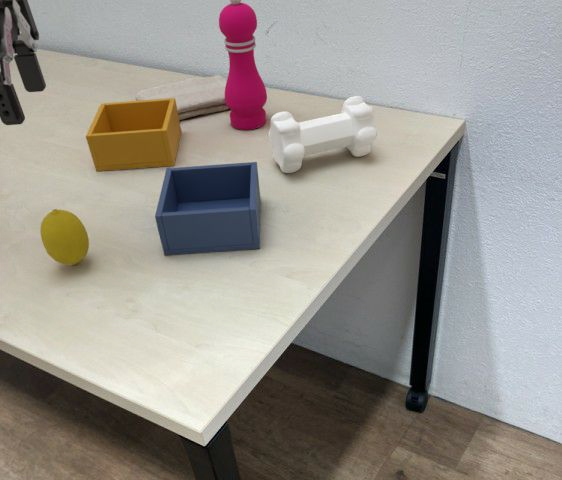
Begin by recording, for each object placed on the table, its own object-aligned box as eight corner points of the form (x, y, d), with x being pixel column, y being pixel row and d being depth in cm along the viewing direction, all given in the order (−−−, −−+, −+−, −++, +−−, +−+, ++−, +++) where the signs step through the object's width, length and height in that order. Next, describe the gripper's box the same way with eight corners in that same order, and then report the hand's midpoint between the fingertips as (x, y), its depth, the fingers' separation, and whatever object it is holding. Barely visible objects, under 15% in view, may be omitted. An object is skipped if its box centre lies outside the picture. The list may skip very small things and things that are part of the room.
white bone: (355, 139, 99) (356, 87, 94) (378, 161, 94) (381, 108, 88) (268, 158, 97) (264, 107, 91) (287, 183, 91) (283, 129, 85)
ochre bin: (96, 171, 98) (85, 136, 93) (110, 137, 106) (100, 103, 102) (173, 165, 97) (166, 130, 93) (181, 131, 106) (175, 97, 102)
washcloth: (246, 106, 112) (245, 89, 109) (152, 129, 107) (148, 111, 105) (225, 85, 119) (223, 69, 117) (136, 106, 115) (132, 89, 113)
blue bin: (164, 255, 80) (154, 216, 75) (174, 205, 88) (166, 168, 84) (260, 249, 79) (255, 209, 75) (260, 199, 88) (256, 161, 84)
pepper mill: (253, 110, 110) (241, -18, 96) (277, 122, 106) (267, -10, 92) (220, 122, 108) (202, -7, 93) (242, 135, 103) (227, 1, 89)
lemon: (66, 282, 77) (44, 227, 71) (46, 265, 80) (23, 211, 74) (104, 263, 79) (85, 208, 74) (83, 247, 82) (64, 193, 77)
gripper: (-54, -92, 58) (11, 83, 70) (-119, -60, 49) (-31, 138, 60) (23, -98, 58) (75, 78, 70) (-27, -68, 48) (44, 133, 60)
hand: (26, 106), depth 65 cm, fingers open, 8 cm apart
